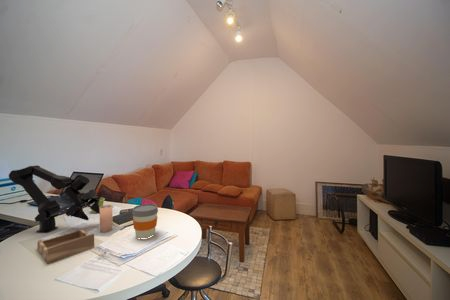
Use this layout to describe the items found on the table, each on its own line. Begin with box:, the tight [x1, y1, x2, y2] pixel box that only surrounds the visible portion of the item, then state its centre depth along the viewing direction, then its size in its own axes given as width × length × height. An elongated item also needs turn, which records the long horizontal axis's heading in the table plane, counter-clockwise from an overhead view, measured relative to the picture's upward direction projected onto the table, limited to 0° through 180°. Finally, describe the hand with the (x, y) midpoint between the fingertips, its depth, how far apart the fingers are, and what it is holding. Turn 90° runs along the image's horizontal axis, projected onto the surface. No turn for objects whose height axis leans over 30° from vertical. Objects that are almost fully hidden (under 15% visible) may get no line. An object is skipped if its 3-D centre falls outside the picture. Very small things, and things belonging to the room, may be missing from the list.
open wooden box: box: [36, 228, 95, 265], centre depth 89 cm, size 18×16×7 cm
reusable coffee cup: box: [131, 203, 159, 239], centre depth 103 cm, size 13×13×15 cm
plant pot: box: [90, 197, 106, 214], centre depth 138 cm, size 9×9×9 cm
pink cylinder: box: [99, 204, 114, 233], centre depth 107 cm, size 6×6×13 cm
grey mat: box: [88, 225, 126, 238], centre depth 107 cm, size 13×13×1 cm
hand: (94, 216), depth 107 cm, fingers open, 9 cm apart
